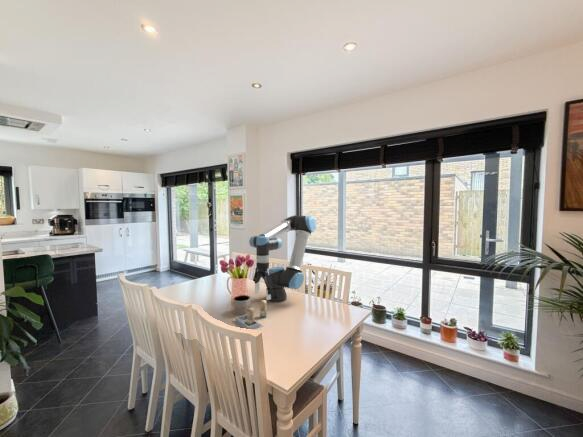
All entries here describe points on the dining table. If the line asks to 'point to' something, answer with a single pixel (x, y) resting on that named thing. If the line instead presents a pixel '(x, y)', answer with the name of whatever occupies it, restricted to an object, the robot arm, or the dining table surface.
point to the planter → (241, 304)
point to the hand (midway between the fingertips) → (262, 296)
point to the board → (242, 323)
